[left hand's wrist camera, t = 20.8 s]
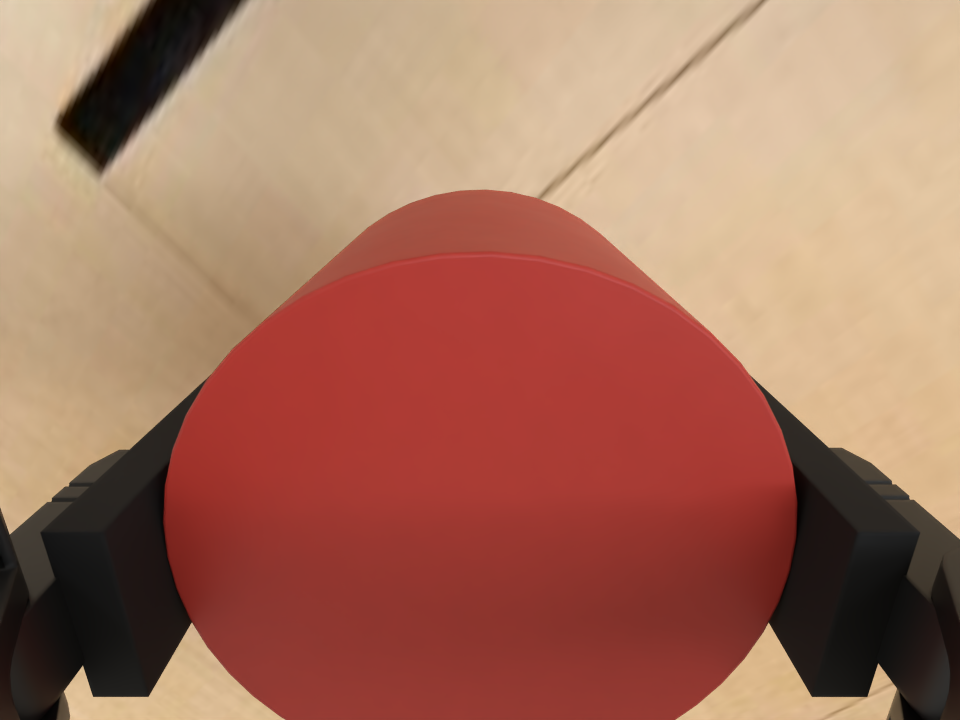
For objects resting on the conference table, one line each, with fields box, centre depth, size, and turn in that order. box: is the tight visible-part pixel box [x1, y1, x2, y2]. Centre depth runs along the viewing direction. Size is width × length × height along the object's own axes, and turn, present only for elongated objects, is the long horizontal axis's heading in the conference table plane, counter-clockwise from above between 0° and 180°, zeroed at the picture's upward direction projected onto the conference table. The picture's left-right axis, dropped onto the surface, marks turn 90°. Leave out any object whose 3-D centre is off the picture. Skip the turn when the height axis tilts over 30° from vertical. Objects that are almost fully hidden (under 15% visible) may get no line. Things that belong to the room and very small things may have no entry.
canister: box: [163, 190, 797, 720], centre depth 12 cm, size 9×9×7 cm
